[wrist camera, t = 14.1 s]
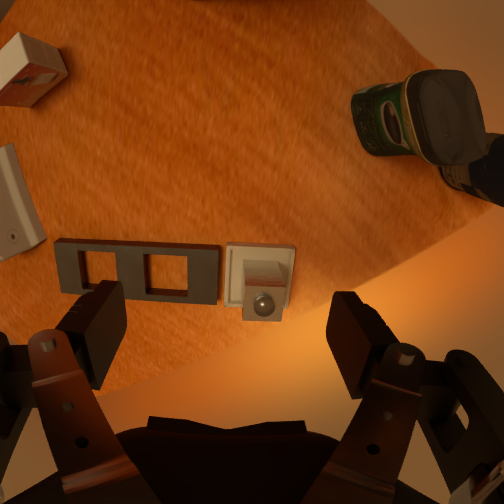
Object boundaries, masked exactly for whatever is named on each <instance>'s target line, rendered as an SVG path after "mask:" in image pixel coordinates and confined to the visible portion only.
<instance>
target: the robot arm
mask: <svg viewBox="0 0 504 504" xmlns="http://www.w3.org/2000/svg"><path fill="white" fill-rule="evenodd" d="M126 328H127V315H126V307H125V299H124V290H123V285H122V282H121V281H110V280H102V281H101V282H100V283H99V284H98V286H97V287H96V288H95V289H94V291H93V292H91V291H89V292H87V293H86V294H84V295H82V296H81V297H79V298H78V300H77V301H76V302H75V303H74V306H72V307H71V308H70V310H69V312H67V313H66V315H65V316H64V317H63V319H62V320H61V321H60V322H59V324H58V325H57V326H56V328H55V329H47V330H42V331H40V332H38V333H36V334H34V335H33V336H32V337H31V338H30V339H29V341H28V345H10V344H9V341H8V338H7V336H6V335H5V334H4V333H2V332H0V504H439V503H437V502H436V501H434V500H432V499H430V498H429V497H427V496H425V495H423V494H422V493H420V492H418V491H417V490H415V489H413V488H411V487H410V486H408V485H406V484H405V483H403V482H401V481H400V480H398V476H399V473H400V470H401V467H402V465H403V462H404V458H405V456H406V452H407V449H408V446H409V443H410V440H411V436H412V433H413V430H414V426H415V422H416V420H418V422H419V424H420V427H421V429H422V431H423V433H424V435H425V437H426V439H427V441H428V444H429V446H430V447H431V450H432V452H433V455H434V457H435V459H436V461H437V463H438V466H439V468H440V470H441V473H442V475H443V477H444V479H445V482H446V484H447V487H448V489H449V491H450V494H451V497H450V499H449V504H504V392H503V391H502V389H501V388H500V387H499V385H498V384H497V383H496V382H495V380H494V379H493V378H492V377H491V375H490V374H489V373H488V371H487V370H486V369H485V368H484V366H483V365H482V364H481V363H480V361H479V360H478V359H477V358H476V357H475V356H474V355H472V354H471V353H469V352H466V351H464V350H458V349H457V350H451V351H449V352H448V353H447V355H446V357H445V359H444V362H440V361H430V360H426V358H425V355H424V354H423V352H422V351H421V350H420V349H418V348H417V347H415V346H413V345H410V344H407V343H400V342H399V341H398V339H397V338H396V336H395V335H394V334H393V332H392V331H391V330H390V328H389V327H388V326H386V323H385V322H384V320H383V319H382V318H381V316H380V315H379V314H378V312H377V311H376V310H375V309H373V308H372V307H370V306H369V305H368V304H363V302H362V301H361V300H360V298H359V297H358V295H357V294H356V293H355V292H354V291H336V292H335V293H334V294H333V298H332V303H331V307H330V312H329V317H328V322H327V326H326V338H327V342H328V344H329V347H330V349H331V351H332V354H333V356H334V358H335V360H336V363H337V365H338V368H339V370H340V372H341V375H342V376H343V379H344V382H345V384H346V386H347V389H348V391H349V394H350V396H351V398H352V399H361V398H363V399H362V401H361V403H360V405H359V407H358V409H357V411H356V413H355V415H354V416H353V419H352V420H351V423H350V424H349V426H348V428H347V429H346V432H345V433H344V435H343V437H342V439H341V440H340V441H338V440H336V439H334V438H331V437H329V436H326V435H323V434H319V433H315V432H310V431H307V429H306V425H305V421H303V420H301V421H280V422H265V423H260V424H255V425H250V426H244V427H239V428H234V429H222V428H217V427H213V426H209V425H205V424H201V423H197V422H194V421H190V420H185V419H173V418H163V417H154V416H149V419H148V423H147V427H139V428H134V429H129V430H126V431H123V432H121V433H118V434H116V435H115V434H114V432H113V430H112V429H111V427H110V425H109V423H108V421H107V419H106V417H105V415H104V413H103V412H102V410H101V408H100V406H99V404H98V402H97V400H96V397H95V395H94V393H93V391H92V389H94V390H99V391H100V388H101V386H102V384H103V381H104V379H105V377H106V374H107V372H108V370H109V368H110V365H111V363H112V361H113V359H114V356H115V354H116V352H117V350H118V347H119V345H120V343H121V341H122V339H123V337H124V335H125V332H126ZM460 404H461V405H462V406H463V408H464V409H465V411H466V413H467V415H468V418H469V424H468V428H467V430H466V429H465V428H464V426H463V424H462V422H461V420H460V419H459V417H458V415H457V414H456V411H457V409H458V408H459V406H460ZM32 408H38V411H39V415H40V418H41V422H42V425H43V429H44V432H45V435H46V438H47V441H48V444H49V447H50V450H51V453H52V456H53V458H54V461H55V464H56V467H57V469H58V471H57V472H55V473H54V474H52V475H50V476H49V477H47V478H46V479H44V480H42V481H41V482H39V483H37V484H35V485H34V486H32V487H30V488H29V489H27V490H25V491H24V492H22V493H20V494H18V495H16V496H15V497H13V498H11V499H9V500H7V501H6V502H4V492H3V489H2V487H1V482H2V479H3V477H4V474H5V471H6V469H7V466H8V463H9V461H10V458H11V456H12V453H13V451H14V448H15V446H16V444H17V441H18V439H19V436H20V434H21V432H22V430H23V427H24V425H25V423H26V421H27V418H28V416H29V414H30V412H31V409H32Z"/></svg>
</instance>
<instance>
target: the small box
mask: <svg viewBox="0 0 504 504" xmlns="http://www.w3.org/2000/svg"><path fill="white" fill-rule="evenodd" d="M67 76H68V72H67V70H66V67H65V65H64V63H63V60H62V58H61V55H60V53H59V51H58V49H57V48H56V47H54V46H51V45H49V44H47V43H45V42H42V41H40V40H38V39H35V38H33V37H30V36H28V35H25V34H23V33H20V32H18V33H17V34H16V35H15V36H14V37H13V38H12V39H11V40H10V41H9V42H8V43H7V44H6V45H5V46H4V47H3V48H2V49H1V50H0V106H14V107H28V108H30V107H31V106H32V105H33V104H34V103H35V102H36V101H37V100H38V99H40V98H41V97H42V96H43V95H44V94H45V93H47V92H48V91H49V90H50V89H51V88H53V87H54V86H55V85H56V84H58V83H59V82H60V81H61V80H63V79H64V78H65V77H67Z"/></svg>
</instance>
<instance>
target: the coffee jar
mask: <svg viewBox="0 0 504 504" xmlns="http://www.w3.org/2000/svg"><path fill="white" fill-rule="evenodd" d="M351 110H352V115H353V120H354V124H355V127H356V130H357V133H358V136H359V138H360V141H361V143H362V145H363V147H364V149H365V150H366V151H367V152H369V153H370V154H372V155H375V156H397V155H416V156H419V157H420V158H421V159H423V160H424V161H426V162H427V163H429V164H431V165H434V166H456V165H463V164H467V163H470V162H473V161H476V160H478V159H480V158H482V157H483V156H484V152H485V147H486V132H485V126H484V121H483V115H482V111H481V107H480V103H479V100H478V96H477V92H476V89H475V87H474V85H473V83H472V81H471V79H470V78H469V77H468V76H467V74H466V73H464V72H462V71H458V70H442V69H425V70H421V71H417V72H415V73H413V74H411V75H409V76H408V77H407V78H406V79H405V81H404V82H399V83H389V84H378V85H373V86H369V87H366V88H363V89H361V90H359V91H357V92H356V93H355V94H354V95H353V97H352V100H351Z"/></svg>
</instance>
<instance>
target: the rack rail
mask: <svg viewBox="0 0 504 504" xmlns="http://www.w3.org/2000/svg"><path fill="white" fill-rule="evenodd" d="M54 250H55V257H56V264H57V270H58V276H59V282H60V287H61V293H69V294H78V295H84V294H86V293H87V292H89V291H91V292H93V291H94V289H95V288H96V287H97V286H98V284H92V283H87V276H86V269H85V261H84V252H83V251H98V252H115V257H116V268H117V278H118V281H121V282H122V285H123V290H124V299H131V300H144V301H158V302H173V303H189V304H208V305H217V292H218V262H219V245H207V244H185V243H163V242H141V241H118V240H95V239H71V238H59V239H58V240H56V241H55V242H54ZM147 254H156V255H176V256H187V267H188V290H174V289H158V288H149V284H148V267H147Z"/></svg>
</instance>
